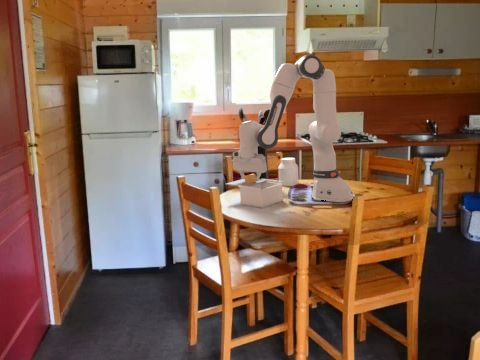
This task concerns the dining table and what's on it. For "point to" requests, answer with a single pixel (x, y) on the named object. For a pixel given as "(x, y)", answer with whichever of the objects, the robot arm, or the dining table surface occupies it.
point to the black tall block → (264, 152)
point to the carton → (261, 194)
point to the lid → (247, 181)
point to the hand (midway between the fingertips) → (250, 180)
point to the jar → (288, 172)
